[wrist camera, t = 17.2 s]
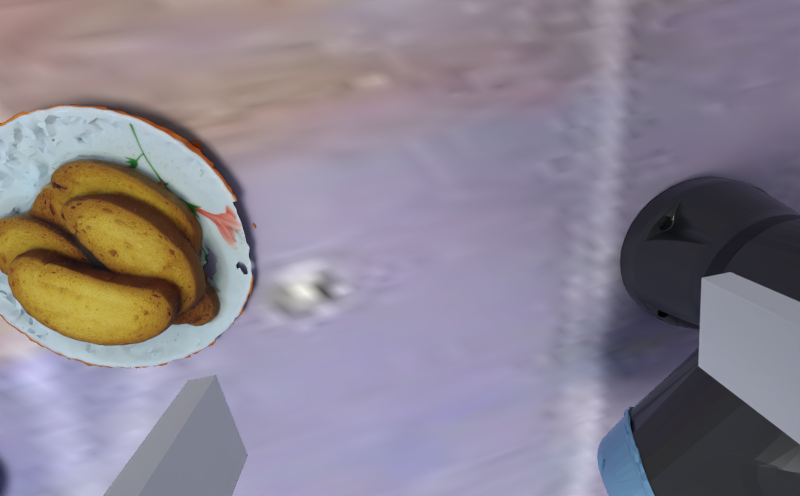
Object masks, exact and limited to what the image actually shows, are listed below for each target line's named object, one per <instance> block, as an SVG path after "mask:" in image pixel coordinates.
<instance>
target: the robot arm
mask: <svg viewBox="0 0 800 496" xmlns="http://www.w3.org/2000/svg"><path fill="white" fill-rule="evenodd" d="M621 274H622V279H623V282H624V285H625V287H626V289H627V291H628V293H629V295H630V296H631V297H632V299H633V300H634V301H635V302H636V303H637V304H638V305H640V306H641V307H642V308H644V309H645V310H646V311H648V312H649V313H651V314H652V315H654V316H655V317H657V318H659V319H661V320H663V321H665V322H667V323H670V324H673V325H677V326H681V327H685V328H689V329H693V330H698V331H700V334H699V348H698V349H696V350H695V351H694V352H693V353H692V354H691V355H690V356H689V357H688V358H687V359H686V360H685V361H684V362H683V363H682V364H681V365H680V366H679V367H678V368H676V369H675V370H674V371H673V372H672V373H671V374H670V375H669V376H668V377H667V378H666V379H665V380H663V381H662V382H661V383H660V384H659V385H658V386H657V387H656V388H655V389H654V390H652V391H651V392H650V393H649V394H648V395H647V396H646V397H645V398H644V399H643V400H641V401H640V402H639V403H638V404H637V405H636V406H635V407H629V408H628V409H627V410H626V411H625V413H624V417H623V418H622V419H621V420H620V421H619V422H618V423H617V424H616V425H615V426H614V427H613V428H612V429H611V430H610V432H609V433H608V434H607V435H606V436H605V437H604V438H603V439H602V441H601V443H600V445H599V448H598V456H597V458H598V466H599V470H600V473H601V476H602V479H603V483H604V486H605V488H606V490H607V493H608V495H609V496H800V214H798V213H797V212H795V211H794V210H792V209H791V208H789V207H787V206H786V205H784V204H783V203H781V202H779V201H778V200H776V199H774V198H773V197H771V196H769V195H768V194H767V193H766V192H764V191H763V190H761V189H759V188H758V187H755V186H753V185H750V184H748V183H745V182H740V181H735V180H729V179H724V178H715V177H706V178H698V179H693V180H689V181H686V182H683V183H680V184H678V185H676V186H673V187H672V188H670V189H668V190H666V191H665V192H663V193H662V194H660V195H659V196H657V197H656V198H655V199H654V200H652V201H651V202H650V203H649V204H648V205H647V206H646V207H645V208H644V209H643V210H642V212H641V213H640V214H639V215H638V217H637V218H636V219H635V221H634V223H633V224H632V226H631V228H630V229H629V232H628V234H627V236H626V239H625V241H624V245H623V248H622V254H621ZM247 456H248V455H247V452H246V450H245V447H244V445H243V442H242V440H241V437H240V434H239V432H238V429H237V427H236V424H235V422H234V419H233V417H232V414H231V412H230V409H229V407H228V404H227V402H226V399H225V397H224V394H223V392H222V389H221V387H220V384H219V382H218V379H217V377H216V375H215V376H210V377H205V378H200V379H195V380H190V381H188V382H187V383H186V384H185V386H184V387H183V388H182V390H181V391H180V392H179V394H178V395H177V396H176V398H175V399H174V401H173V402H172V403H171V405H170V406H169V407H168V409H167V410H166V411H165V413H164V414H163V415H162V417H161V418H160V420H159V421H158V422H157V424H156V425H155V426H154V428H153V429H152V430H151V432H150V433H149V434H148V436H147V437H146V439H145V440H144V441H143V443H142V444H141V445H140V447H139V448H138V449H137V451H136V452H135V453H134V455H133V456H132V458H131V459H130V460H129V462H128V463H127V464H126V466H125V467H124V468H123V470H122V471H121V472H120V474H119V475H118V477H117V478H116V479H115V481H114V482H113V483H112V485H111V486H110V487H109V489H108V490H107V491H106V493H105V494H104V496H232V494H233V491H234V489H235V486H236V484H237V481H238V479H239V476H240V474H241V471H242V469H243V466H244V463H245V461H246V458H247Z"/></svg>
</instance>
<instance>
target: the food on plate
mask: <svg viewBox="0 0 800 496" xmlns="http://www.w3.org/2000/svg"><path fill="white" fill-rule="evenodd" d="M106 108H107V107H101V106H81V105H68V106H64V105H56V106H52V107H49V108H48V109H47V110H34V111H31V112H21V113H19V114H17V115H15V116H13V117H12V118H11V119H9V120H8V121H6V122H4V123H0V315H1V316H2V317H3V319H4V320H5V321H6V322H7V323H8V324H10V325H11V326H13V327H14V328H16V329H17V330H18V331H20V332H21V333H23V334H25V335H26V336H27V337H28V338H29V339H30V340H31V341H33V342H35V343H37V344H38V345H40V346H42V347H46V348H48V349H49V350H51V351H53V352H54V353H56V354H58V355H61V356H65V357H67V358H68V359H74V360H78V361H81V362H83V363H85V364H86V365H88V366H92V365H95V366H100V367H102V366H105V367H109V368H113V367H121V368H132V367H135V368H140V367H148V366H157V365H159V366H163V365H166V364H167V363H168V362H170V361H172V360H176V359H182V358H188V357H190V354H196V353H198V352H199V351H201V350H202V349H203V348H204V347H207V346H211V345H213V344H214V343H215V342H216V340H214V339H215V338H216V337H217V336H219V335H220V334H221V333H222V332H224V331H225V330H226V329H227V328H228V327H229V325H231V324H233V322H234V319H235V318H236V317H237V316H239V315H241V314H242V312H243V309H244V304H245V303H246V302H247V300H248V295H250V294H251V291H252V285H253V278H254V275H252V273H251V262H250V259H249V249H250V247H249V246H248V244H247V243H246V239H245V234H244V230H243V227H242V224H241V221H240V219H239V216H238V214H237V210H236V208H235V206H234V204H233V203H232V202H235V201H237V199H236V196H235V195H234V194H233V193H232V189H231V187H230V186H229V185H228V184H227V183H226V181H225V180H224V178H223V177H222V176H221V174H220V173H219V171H218V170H216V169H214V168H213V166H214V164H213V163H212V162H211V161H209V160H208V159H207V158H206V157H205V156H204V155H203V154H202V153H201V148H202V147H201V146H200V144H199V143H198V141H195V142H193V143H190V142H188V141H187V140H186V139H184V138H182V137H181V136H179V135H177V134H176V133H174V132H173V131H171V130H169V129H167V128H165V127H162V126H158V125H156V124H155V123H153V122H151V121H149V120H147V119H145V118H142V117H139V116H135V115H129V114H127V113H126V112H123V111H120V110H114V111H113V110H108V109H106ZM253 225H254V227H255V228H256V225H255V224H254V223H253ZM206 247H207V248H209V249H210V250H211V251H212V252H213V254H214V255H215V256H216V258H217V264H215V266H216V268H217V272H216V273H215V274H213V276H212V277H213V280H212V279H209V277H208V275H206V274H204V271H203V265H204V264H206V263H207V262H208V260H207V258H206V257H207V256H208V255H209V254H208V250H207V249H206ZM238 262H243V263H244V264H245V266H246V267H247V271H248V274H245V275H244V274H243V272H242V271H241V269H240V268H238V269H237V267H236V264H237V263H238Z"/></svg>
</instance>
